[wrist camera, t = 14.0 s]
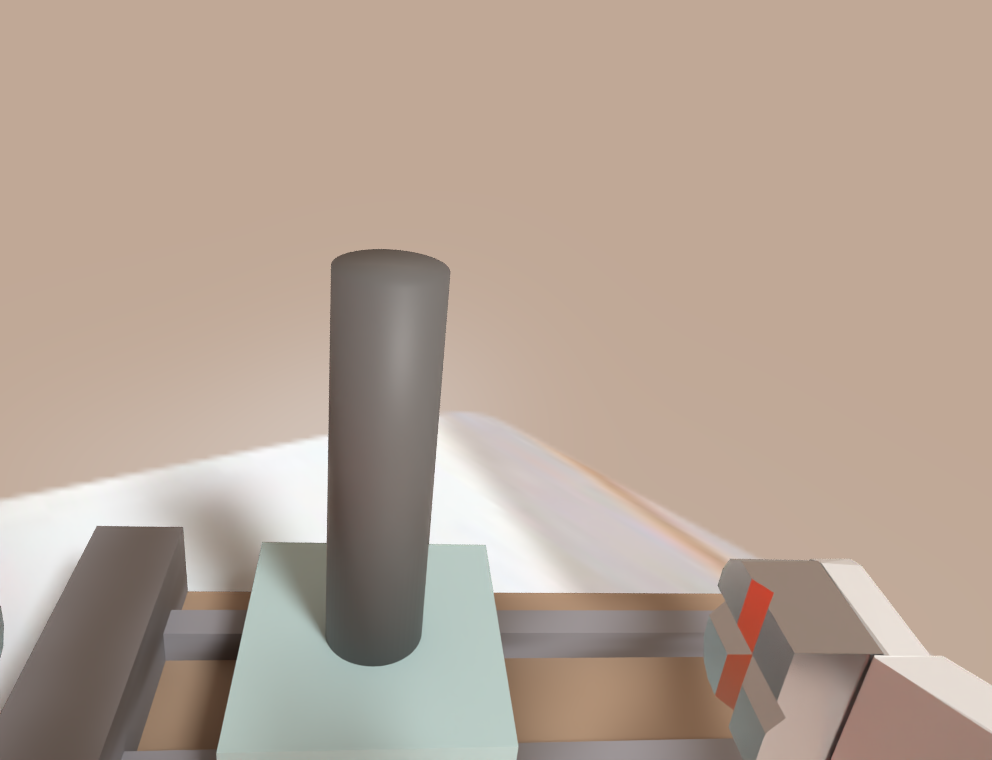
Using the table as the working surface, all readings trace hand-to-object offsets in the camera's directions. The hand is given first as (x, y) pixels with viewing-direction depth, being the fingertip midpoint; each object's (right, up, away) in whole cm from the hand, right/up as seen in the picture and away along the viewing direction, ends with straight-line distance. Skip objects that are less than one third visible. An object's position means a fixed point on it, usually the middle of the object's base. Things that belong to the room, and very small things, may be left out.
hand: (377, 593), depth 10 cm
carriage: (-3, -7, +18) cm, 20 cm away
